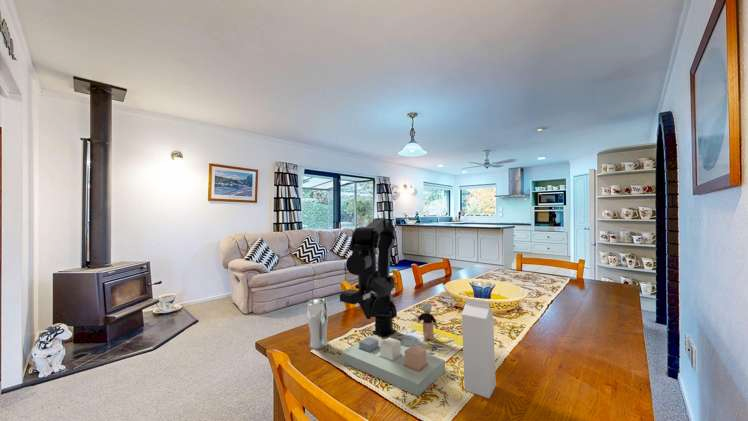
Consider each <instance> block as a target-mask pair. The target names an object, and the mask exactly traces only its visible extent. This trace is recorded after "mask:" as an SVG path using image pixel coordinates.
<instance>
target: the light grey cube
mask: <svg viewBox="0 0 748 421" xmlns="http://www.w3.org/2000/svg"><path fill="white" fill-rule="evenodd" d="M383 340H384V341H382V342H381V343H380V349H381V358H384V359H386V360H389V361H391V362H393V361H395V360H396V359H398V358H399V357H401V346H402V344H401V340H398V339H395V338H392V337H386V338H385V339H383Z"/></svg>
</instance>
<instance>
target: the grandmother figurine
mask: <svg viewBox="0 0 748 421" xmlns="http://www.w3.org/2000/svg"><path fill="white" fill-rule="evenodd" d="M432 308H433V307H432V304H431V303H430V302H429V303H428V302H426V303H424V304H423V305H422V307H421V311H423V313H421V314H420V315H418V317H417V320H416V323H418V324H420V323H421V321H422V332H423V338H422V341H423V342H429V343H436V342H437V339H436V338H435V334H434V328H436V329H437V328H438V327H439V325H438V323H437V322H438V321H437V320H436V318H435V317H434V315H433V314H431V311H432Z"/></svg>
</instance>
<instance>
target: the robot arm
mask: <svg viewBox="0 0 748 421" xmlns="http://www.w3.org/2000/svg"><path fill="white" fill-rule="evenodd" d="M351 236H352V237H351V239H350V246H349V251H350V252H351V253H352V254H351V255H350V256H349V257H348V258H347V260H346V263H345V267H346V269H347V271H348V272H349V274H351V275H354V276H357V282H358V283H357V284H355V289H352V288H349V289H346V290H343V291H341V292H340V293H339V302H342V303H346V304H350V305H357V304H358V305H359V307H360V308H361V310H362V312H363V314H364V316H365V318H366V319H367V320H370V319H372V318H375V321H374V330H372V334H375V335H377V336H381V337H383V338H388V337H390V336H391V335H393V334H394V333H396V332H397V329H394V328H393V327H394V324H393V321H394V320H393V319H395V318H397V317H398V312H397V307H396V304H395V302H394V297H393V294H392V291H393V290H394V289H396V281H395V277H393V276H392V275H390V270H391V269H390V268H391V251H392V249H393V248H394V246H395V243H396V239H397V230H396V228H395V225H393V224H392V223H391V222H389V221H388V218H385V217H378V218H377V217H375V218H373V219H372V220H371V222H369V224H367V225H366V226H360V227H356V228H354V230H353V232H352V235H351ZM377 249H378V252H376V250H377ZM377 253H378V257H377V255H376V254H377ZM377 258H378V259H377Z"/></svg>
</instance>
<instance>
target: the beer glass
mask: <svg viewBox="0 0 748 421" xmlns="http://www.w3.org/2000/svg"><path fill="white" fill-rule="evenodd" d="M306 311H307V312H306V313H307V314H306V315H307V323H308V327H309V333H310V342H309V347H310V348H311V349H312V350H313V349H314V350H320V349H321V350H322V349H324V348H326V347H328V344H329V343H328V342H329V341H328V337H327V328H328V323H329V322H328V321H329V308H328V300H327V299H326V298H320V297H319V298H313V299H309V300H308V301H307V310H306Z"/></svg>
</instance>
